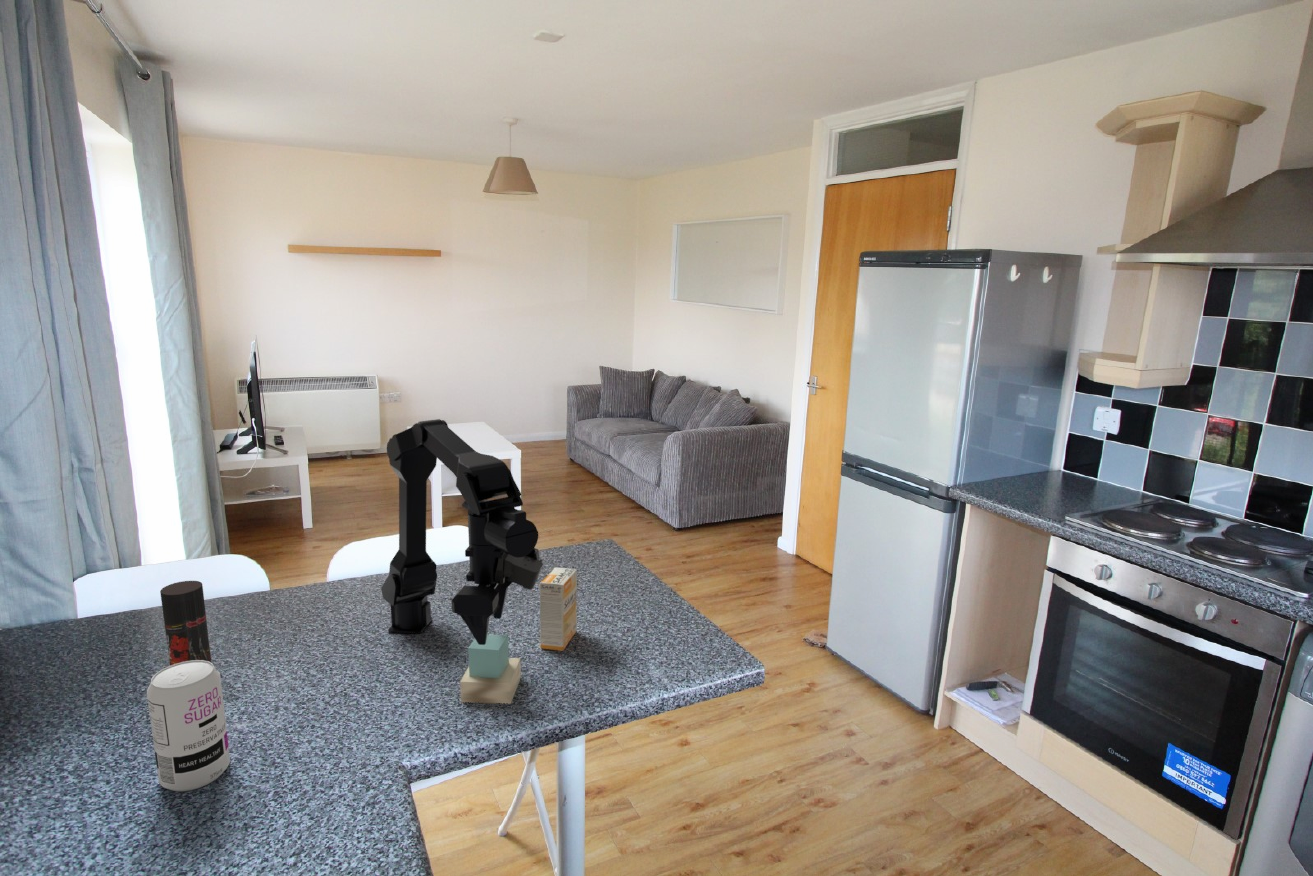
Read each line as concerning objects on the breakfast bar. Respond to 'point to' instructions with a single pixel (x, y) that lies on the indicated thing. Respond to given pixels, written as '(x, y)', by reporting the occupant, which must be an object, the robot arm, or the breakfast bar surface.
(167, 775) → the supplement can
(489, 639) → the teal cube
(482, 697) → the beech block
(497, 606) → the robot arm
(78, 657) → the breakfast bar surface
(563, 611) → the supplement box
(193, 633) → the deodorant
